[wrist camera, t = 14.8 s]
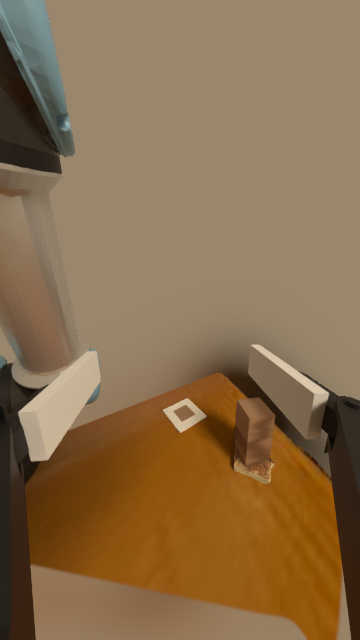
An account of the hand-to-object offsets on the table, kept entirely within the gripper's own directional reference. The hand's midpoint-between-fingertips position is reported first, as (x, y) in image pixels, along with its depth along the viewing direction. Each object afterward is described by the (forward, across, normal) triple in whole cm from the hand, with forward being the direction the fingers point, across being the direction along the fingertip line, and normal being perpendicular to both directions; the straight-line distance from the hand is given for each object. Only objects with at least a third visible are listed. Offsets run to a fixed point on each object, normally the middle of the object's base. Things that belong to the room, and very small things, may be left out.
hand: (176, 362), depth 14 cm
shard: (+14, +15, -31) cm, 37 cm away
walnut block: (+14, +16, -29) cm, 36 cm away
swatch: (+27, +3, -30) cm, 41 cm away
